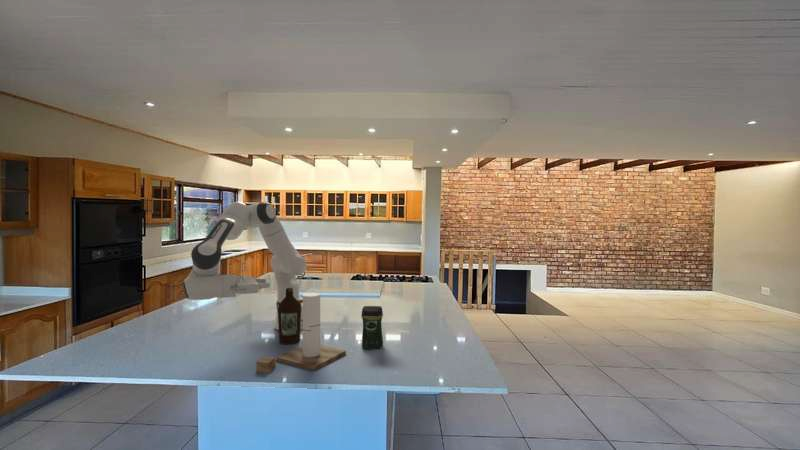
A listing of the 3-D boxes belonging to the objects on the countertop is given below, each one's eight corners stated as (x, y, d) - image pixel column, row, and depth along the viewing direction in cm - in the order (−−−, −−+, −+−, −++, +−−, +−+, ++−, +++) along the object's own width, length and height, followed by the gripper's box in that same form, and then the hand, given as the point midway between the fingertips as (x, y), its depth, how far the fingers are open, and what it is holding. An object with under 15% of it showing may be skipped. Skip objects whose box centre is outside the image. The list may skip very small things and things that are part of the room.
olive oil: (278, 338, 183) (278, 286, 182) (301, 336, 186) (301, 285, 185) (276, 345, 173) (276, 291, 172) (301, 344, 175) (300, 290, 174)
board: (310, 346, 173) (310, 342, 173) (345, 354, 163) (345, 350, 163) (276, 360, 155) (276, 357, 155) (313, 370, 146) (313, 367, 146)
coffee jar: (383, 344, 176) (384, 304, 175) (381, 350, 168) (382, 308, 167) (363, 343, 176) (363, 303, 176) (360, 349, 168) (360, 308, 168)
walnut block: (264, 366, 150) (264, 356, 150) (275, 368, 149) (275, 357, 149) (256, 371, 145) (256, 361, 145) (268, 373, 144) (267, 362, 144)
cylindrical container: (321, 356, 157) (321, 295, 156) (303, 357, 155) (303, 296, 154) (319, 350, 164) (319, 292, 163) (302, 351, 161) (302, 293, 161)
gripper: (232, 282, 139) (271, 279, 146) (228, 274, 157) (263, 271, 164) (232, 299, 139) (271, 295, 146) (228, 289, 157) (263, 286, 164)
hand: (267, 282), depth 155 cm, fingers open, 8 cm apart
